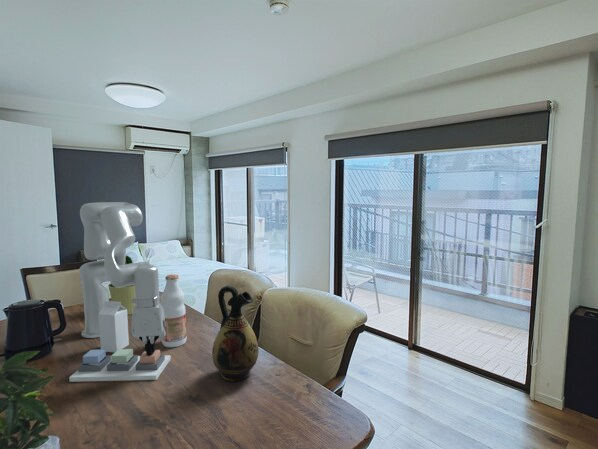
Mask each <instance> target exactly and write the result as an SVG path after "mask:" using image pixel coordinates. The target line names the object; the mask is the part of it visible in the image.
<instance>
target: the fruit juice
mask: <svg viewBox="0 0 598 449" xmlns="http://www.w3.org/2000/svg"><path fill="white" fill-rule="evenodd" d="M164 279H165V282H166V283H165V288H164V289H163V291H162V293H161V295H160V303H161V304H162V307H163V311H164V316H165V325H166V328H165V333H166V335H165V336H164V337H162V338H161V343H162V346H163V347H166V348H177V347H178V348H179V347H181V346H183V345H184V344H186V342H187V339H188V336H187V316H186V315H187V314H186V312H187V311H186V305H185V304H184V303H185V297H186V296H185V293H184V291H183V290H182V288H181V287H180V284H179V281H178V280H179V274H168V275H166V276H165V278H164Z"/></svg>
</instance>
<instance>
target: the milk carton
mask: <svg viewBox="0 0 598 449" xmlns="http://www.w3.org/2000/svg"><path fill="white" fill-rule="evenodd" d="M104 302H105V304H104V306H103V307H102V309H101V311H100V312H99V330H100V337H99V344H100V350H105V351H106V353H113V354H114V353H115V352H116V351H117V350H118V349H126V348H127V347H128V346H129V345H130V341H129V340H130V339H129V336H130V335H129V322H128V321H129V320H128V315H127V309H126V308H125V307H123V306H122V305H121V302H112V300H111V301H110V300H109V301H104Z"/></svg>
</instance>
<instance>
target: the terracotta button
mask: <svg viewBox="0 0 598 449" xmlns="http://www.w3.org/2000/svg"><path fill="white" fill-rule="evenodd" d="M160 355H161V349H156V350H155V352H154V353H153V354H152V355H146V352H145V350H144V351H143V352H142V354H140V355H139V356H140V364H150V363H156V362H157V360H158V359H159V358H160Z"/></svg>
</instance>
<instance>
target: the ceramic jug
mask: <svg viewBox="0 0 598 449" xmlns="http://www.w3.org/2000/svg"><path fill="white" fill-rule="evenodd" d="M226 293H231V295H232V297H231V298H229V300H228V301H227V305H226V301H225V294H226ZM217 297H218V304H219V308H220V312H221V314H222V320H221V322H220V326H219V330H218V332H217V335H216V336H215V339H214V342H213V345H212V352H211V353H212V354H211V355H212V362H213V364H214V366H215V367H216V369H218V371H219V372H220V376H221V377H222V379H224V380H225V381H228V382H232V383H238V382H240V381H243V380H245V379H248V378H249V375H250V371H251V370H252V369H253V368H254V366H255V365H256V364H257V361H258V359H259V350H260V349H259V344H258V339H257V336H256V334H255V332H254V330H253V328H252V326H251V325H250V323H249V322H248V320H247V319H246V318H245V316H244V314H243V312H242V307H244V306H247V305H249V304H252V303H253V302H254V298H253V297H252V295H251V294H250V293H249V292H247V291H244V292H240V293H239V292H238V290H237V288H236V287H234V286H231V285H225V286H223V287H221V289H220V290H219V291H218V295H217ZM227 306H229V307H230V311H229V313H228V309H227Z"/></svg>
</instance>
